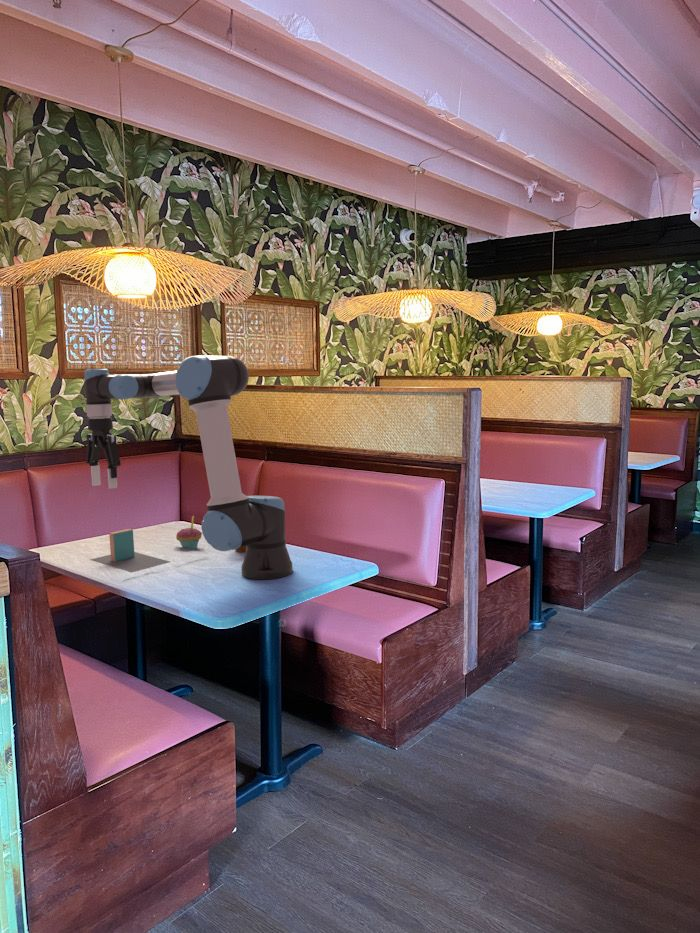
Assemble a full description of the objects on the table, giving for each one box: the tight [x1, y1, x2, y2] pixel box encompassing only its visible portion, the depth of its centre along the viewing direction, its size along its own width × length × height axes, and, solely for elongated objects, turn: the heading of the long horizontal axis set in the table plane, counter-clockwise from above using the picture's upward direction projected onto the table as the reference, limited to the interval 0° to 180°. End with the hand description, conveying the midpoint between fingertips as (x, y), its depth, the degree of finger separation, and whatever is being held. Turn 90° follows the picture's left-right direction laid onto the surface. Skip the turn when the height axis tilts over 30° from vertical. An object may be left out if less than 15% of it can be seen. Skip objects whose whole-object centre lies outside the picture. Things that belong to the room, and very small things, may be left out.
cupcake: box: [175, 513, 203, 551], centre depth 235 cm, size 9×8×12 cm
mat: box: [89, 551, 171, 573], centre depth 218 cm, size 24×14×1 cm, turn 50°
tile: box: [108, 528, 135, 562], centre depth 220 cm, size 2×7×9 cm, turn 140°
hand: (104, 486), depth 223 cm, fingers open, 9 cm apart
